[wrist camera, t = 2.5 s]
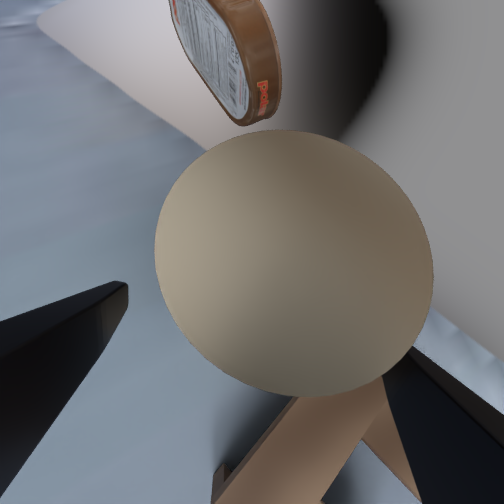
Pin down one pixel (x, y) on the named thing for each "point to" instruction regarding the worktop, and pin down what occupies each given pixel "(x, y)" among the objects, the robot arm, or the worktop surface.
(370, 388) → the brown rectangular frame
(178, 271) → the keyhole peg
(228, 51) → the tin
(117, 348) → the worktop surface
